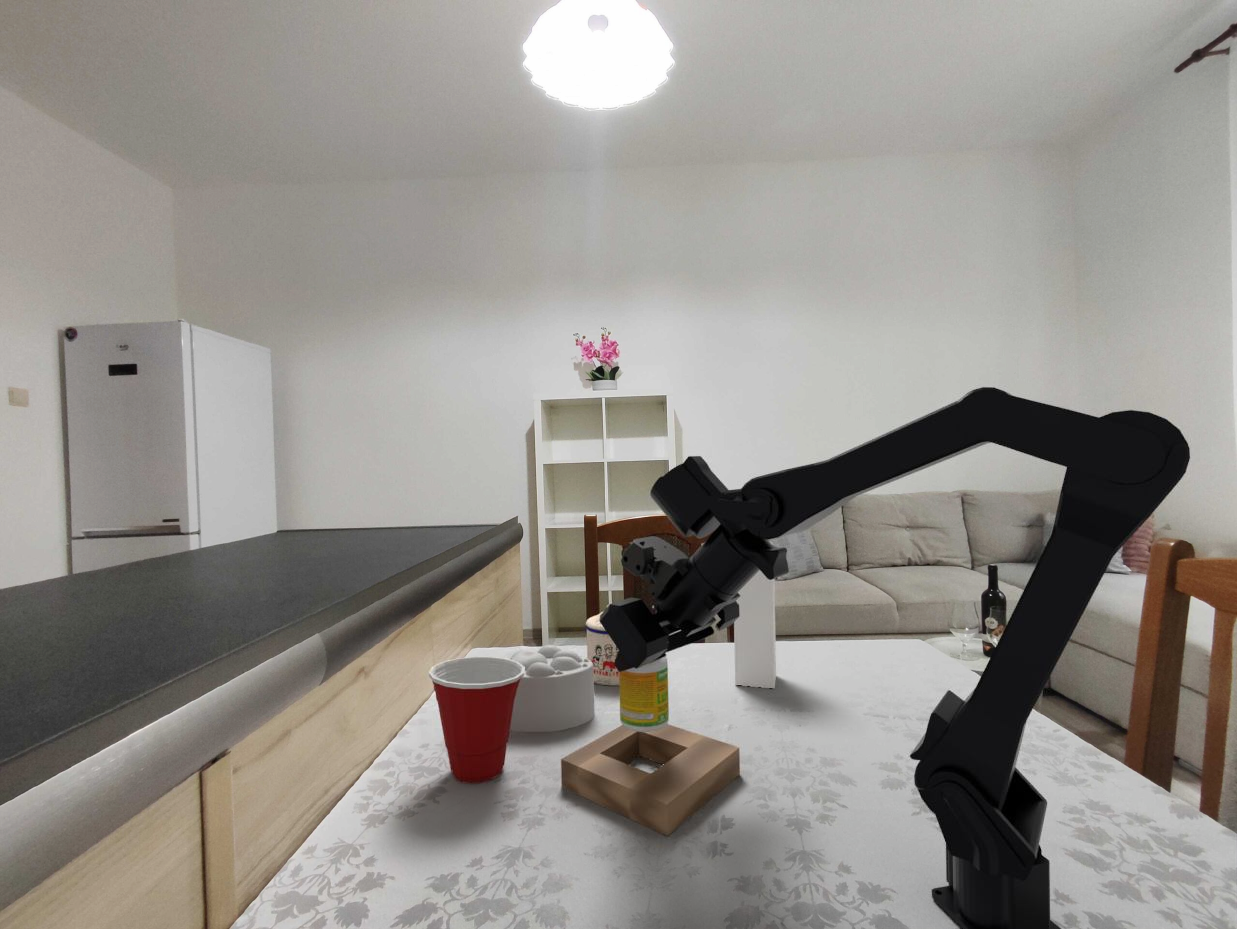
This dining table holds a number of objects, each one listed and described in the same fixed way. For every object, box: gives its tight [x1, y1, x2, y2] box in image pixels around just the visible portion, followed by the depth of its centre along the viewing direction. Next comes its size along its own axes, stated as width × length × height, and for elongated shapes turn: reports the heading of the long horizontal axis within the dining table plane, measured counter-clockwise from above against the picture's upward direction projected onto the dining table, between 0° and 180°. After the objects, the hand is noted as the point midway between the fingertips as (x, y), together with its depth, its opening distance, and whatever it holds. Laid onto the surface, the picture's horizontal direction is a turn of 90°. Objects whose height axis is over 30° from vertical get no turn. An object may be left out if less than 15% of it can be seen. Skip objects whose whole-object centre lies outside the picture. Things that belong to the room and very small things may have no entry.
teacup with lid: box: [584, 604, 619, 687], centre depth 98 cm, size 12×9×12 cm
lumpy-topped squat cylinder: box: [505, 644, 596, 733], centre depth 84 cm, size 10×13×9 cm
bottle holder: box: [560, 724, 741, 837], centre depth 66 cm, size 14×14×3 cm
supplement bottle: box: [618, 655, 670, 732], centre depth 67 cm, size 5×5×10 cm
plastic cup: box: [428, 656, 525, 784], centre depth 69 cm, size 11×11×12 cm
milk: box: [733, 541, 777, 690], centre depth 95 cm, size 6×6×22 cm
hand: (633, 660), depth 68 cm, fingers closed on supplement bottle, 5 cm apart
